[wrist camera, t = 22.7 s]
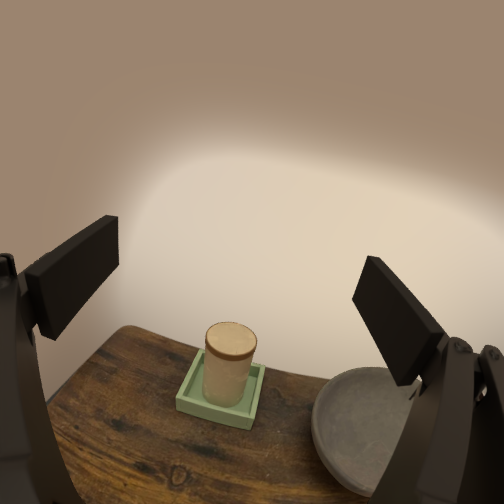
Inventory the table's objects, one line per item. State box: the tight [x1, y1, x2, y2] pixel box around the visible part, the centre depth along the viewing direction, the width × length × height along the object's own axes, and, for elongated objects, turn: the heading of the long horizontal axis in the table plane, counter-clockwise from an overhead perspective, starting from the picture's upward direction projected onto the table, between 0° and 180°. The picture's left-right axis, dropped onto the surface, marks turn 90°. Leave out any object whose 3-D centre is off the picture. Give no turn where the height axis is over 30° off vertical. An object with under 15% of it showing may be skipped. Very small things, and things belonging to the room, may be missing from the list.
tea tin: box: [202, 322, 257, 408], centre depth 34 cm, size 6×6×11 cm
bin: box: [176, 349, 265, 430], centre depth 36 cm, size 10×10×3 cm
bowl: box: [311, 367, 421, 498], centre depth 27 cm, size 21×21×8 cm
